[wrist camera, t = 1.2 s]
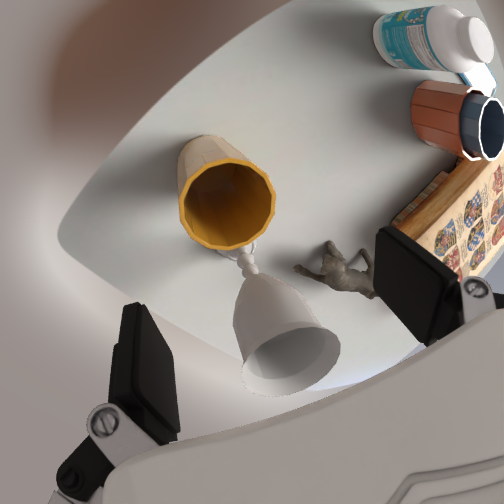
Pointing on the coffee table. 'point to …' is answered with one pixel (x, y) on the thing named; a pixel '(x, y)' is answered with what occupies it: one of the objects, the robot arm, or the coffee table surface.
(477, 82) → the smartphone
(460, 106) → the cup stack
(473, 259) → the book
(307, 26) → the coffee table surface
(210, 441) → the robot arm
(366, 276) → the dog figurine
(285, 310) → the chalice
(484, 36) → the pill bottle
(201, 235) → the ochre cup
